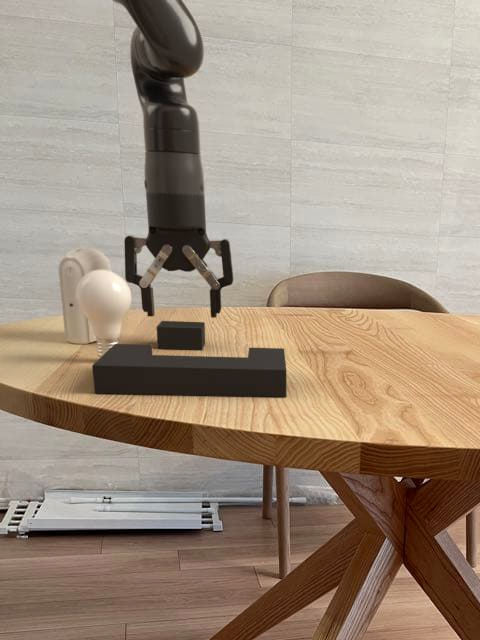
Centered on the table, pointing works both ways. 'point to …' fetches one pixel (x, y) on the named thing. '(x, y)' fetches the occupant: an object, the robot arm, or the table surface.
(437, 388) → the table surface
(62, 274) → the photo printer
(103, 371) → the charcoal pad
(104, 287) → the lightbulb
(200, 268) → the robot arm
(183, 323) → the black block
